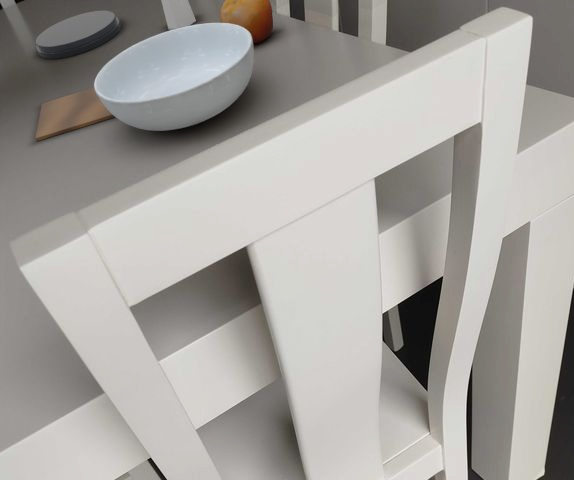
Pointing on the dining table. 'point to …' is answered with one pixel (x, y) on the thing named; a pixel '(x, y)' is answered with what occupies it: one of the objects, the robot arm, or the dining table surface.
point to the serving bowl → (178, 76)
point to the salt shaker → (178, 13)
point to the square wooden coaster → (71, 113)
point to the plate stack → (77, 34)
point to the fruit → (249, 16)
